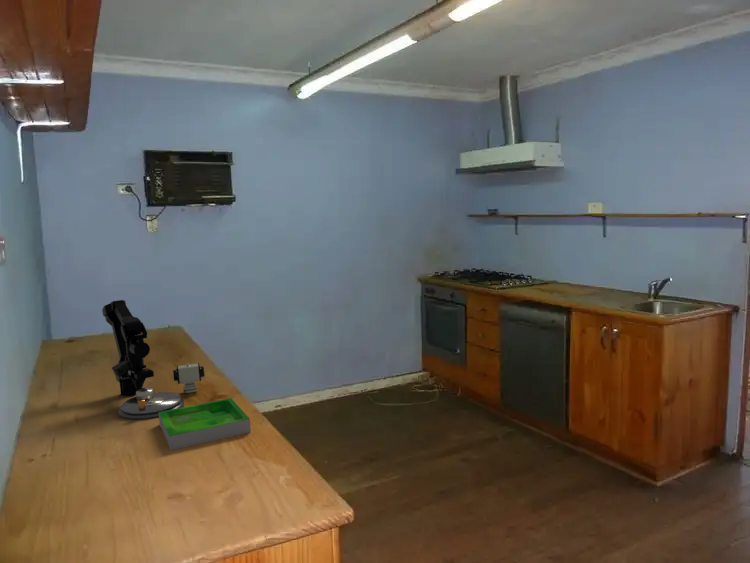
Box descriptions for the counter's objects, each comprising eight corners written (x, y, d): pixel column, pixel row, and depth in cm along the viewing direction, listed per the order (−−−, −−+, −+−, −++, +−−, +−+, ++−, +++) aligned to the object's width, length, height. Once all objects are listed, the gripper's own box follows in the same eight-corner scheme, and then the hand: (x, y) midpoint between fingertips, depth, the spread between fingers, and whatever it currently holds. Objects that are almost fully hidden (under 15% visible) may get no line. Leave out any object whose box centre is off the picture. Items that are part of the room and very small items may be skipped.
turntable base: (106, 420, 202) (106, 417, 202) (135, 399, 225) (135, 396, 225) (170, 418, 202) (169, 415, 201) (192, 397, 224) (192, 394, 224)
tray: (170, 451, 174) (169, 436, 174) (159, 426, 196) (158, 412, 196) (250, 433, 186) (249, 418, 185) (232, 411, 208) (231, 397, 207)
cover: (141, 401, 213) (140, 392, 212) (134, 398, 217) (133, 389, 216) (156, 397, 217) (155, 387, 217) (149, 394, 221) (148, 385, 221)
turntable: (136, 419, 198) (135, 405, 198) (111, 407, 213) (110, 394, 212) (191, 402, 214) (190, 389, 213) (164, 392, 228) (163, 380, 227)
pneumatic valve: (205, 391, 231) (203, 362, 229) (175, 395, 227) (172, 366, 225) (204, 387, 236) (202, 359, 234) (175, 392, 232) (172, 363, 230)
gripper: (104, 353, 221) (109, 392, 223) (122, 361, 207) (126, 402, 209) (133, 347, 228) (137, 385, 230) (152, 355, 215) (156, 394, 217)
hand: (138, 391), depth 222 cm, fingers closed
